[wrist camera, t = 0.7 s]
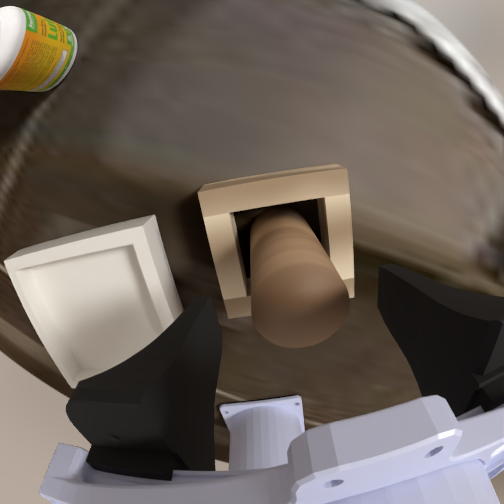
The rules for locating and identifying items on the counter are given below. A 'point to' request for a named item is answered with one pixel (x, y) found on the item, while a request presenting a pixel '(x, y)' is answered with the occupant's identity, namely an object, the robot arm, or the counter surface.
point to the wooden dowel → (293, 281)
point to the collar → (266, 194)
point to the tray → (97, 294)
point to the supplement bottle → (33, 51)
